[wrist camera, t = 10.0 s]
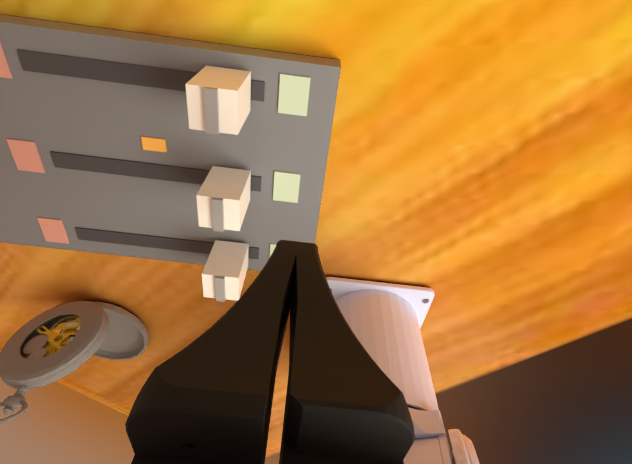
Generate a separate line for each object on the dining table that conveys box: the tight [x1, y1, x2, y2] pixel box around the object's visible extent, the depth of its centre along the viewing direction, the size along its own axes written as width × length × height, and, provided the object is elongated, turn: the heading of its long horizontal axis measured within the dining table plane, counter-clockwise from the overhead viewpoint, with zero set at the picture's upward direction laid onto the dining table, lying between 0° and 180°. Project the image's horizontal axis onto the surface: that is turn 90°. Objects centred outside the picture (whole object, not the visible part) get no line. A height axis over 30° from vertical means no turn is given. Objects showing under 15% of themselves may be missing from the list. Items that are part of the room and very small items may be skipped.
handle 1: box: [185, 65, 251, 135], centre depth 16 cm, size 2×2×3 cm
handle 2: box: [202, 240, 249, 302], centre depth 22 cm, size 2×2×3 cm
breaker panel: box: [0, 14, 341, 271], centre depth 21 cm, size 13×20×2 cm, turn 83°
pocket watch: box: [0, 301, 149, 423], centre depth 26 cm, size 8×8×10 cm
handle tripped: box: [196, 166, 251, 232], centre depth 19 cm, size 2×2×3 cm
